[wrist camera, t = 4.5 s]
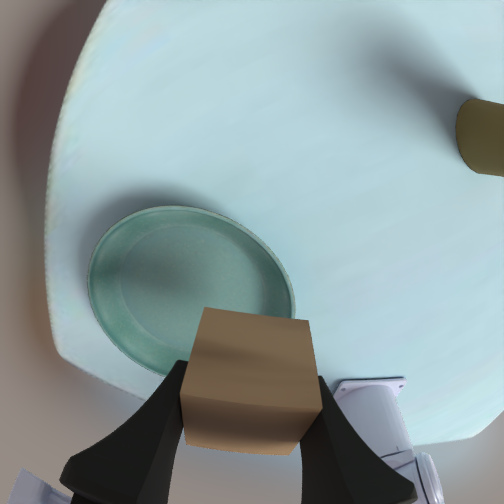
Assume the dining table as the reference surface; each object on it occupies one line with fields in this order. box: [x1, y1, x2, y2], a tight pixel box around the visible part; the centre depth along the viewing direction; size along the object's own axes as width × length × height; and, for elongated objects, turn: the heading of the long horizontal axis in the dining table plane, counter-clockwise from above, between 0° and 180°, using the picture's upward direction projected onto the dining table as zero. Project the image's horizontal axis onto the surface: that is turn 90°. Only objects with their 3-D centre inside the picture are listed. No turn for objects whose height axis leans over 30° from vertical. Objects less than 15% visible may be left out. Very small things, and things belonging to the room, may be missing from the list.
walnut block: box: [180, 307, 323, 455], centre depth 12 cm, size 5×5×5 cm
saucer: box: [87, 205, 296, 377], centre depth 19 cm, size 15×15×3 cm
